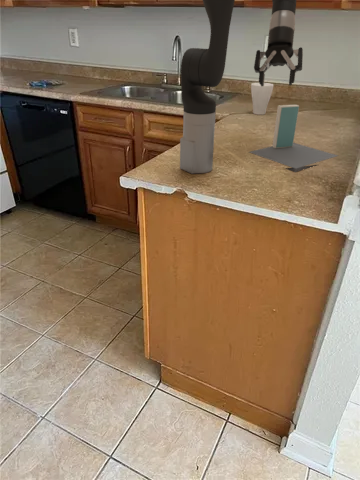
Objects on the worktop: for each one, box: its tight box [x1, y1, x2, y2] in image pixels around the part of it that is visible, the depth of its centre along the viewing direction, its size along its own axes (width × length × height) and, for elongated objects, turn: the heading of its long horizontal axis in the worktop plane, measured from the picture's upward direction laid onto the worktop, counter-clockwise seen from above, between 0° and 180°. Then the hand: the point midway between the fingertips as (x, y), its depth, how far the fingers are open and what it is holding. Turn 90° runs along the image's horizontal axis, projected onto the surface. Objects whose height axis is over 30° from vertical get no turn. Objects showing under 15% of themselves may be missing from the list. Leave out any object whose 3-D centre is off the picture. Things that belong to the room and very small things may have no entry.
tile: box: [271, 104, 300, 148], centre depth 131 cm, size 2×7×14 cm, turn 108°
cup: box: [250, 82, 274, 116], centre depth 184 cm, size 10×10×14 cm
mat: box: [249, 142, 339, 173], centre depth 128 cm, size 22×20×1 cm
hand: (276, 84), depth 116 cm, fingers open, 8 cm apart
